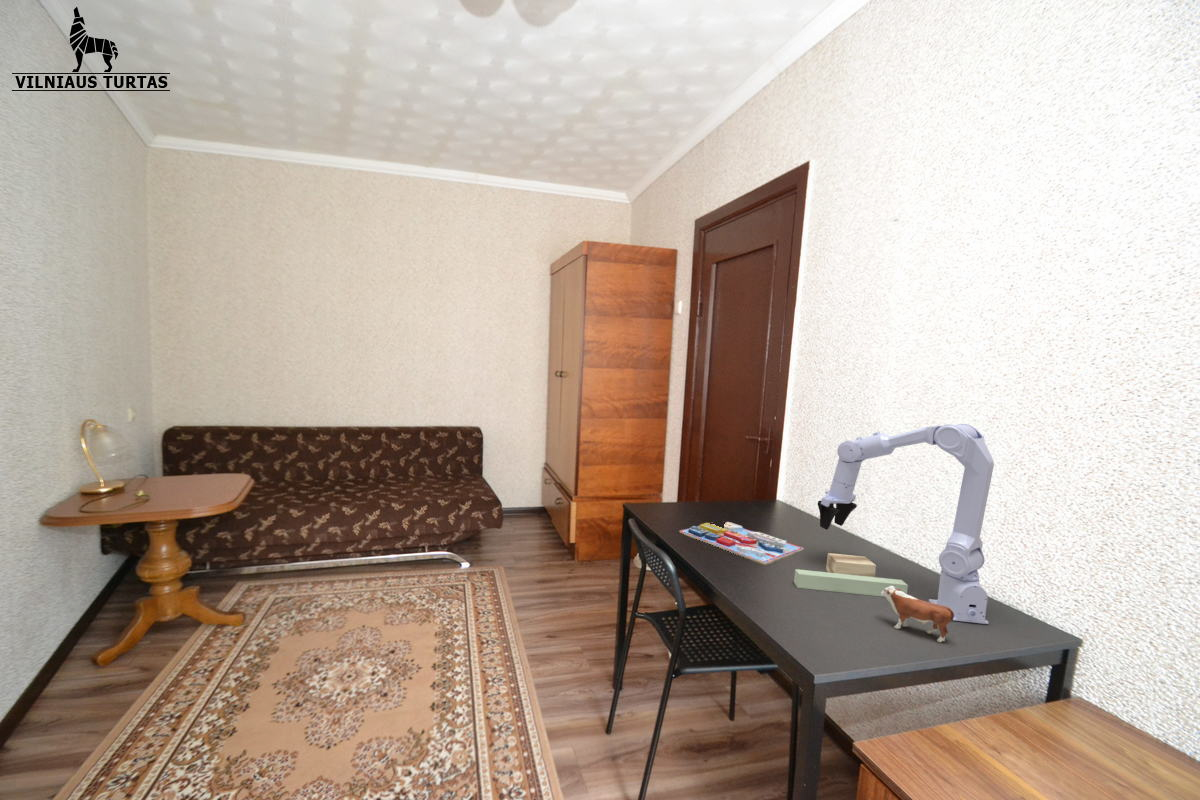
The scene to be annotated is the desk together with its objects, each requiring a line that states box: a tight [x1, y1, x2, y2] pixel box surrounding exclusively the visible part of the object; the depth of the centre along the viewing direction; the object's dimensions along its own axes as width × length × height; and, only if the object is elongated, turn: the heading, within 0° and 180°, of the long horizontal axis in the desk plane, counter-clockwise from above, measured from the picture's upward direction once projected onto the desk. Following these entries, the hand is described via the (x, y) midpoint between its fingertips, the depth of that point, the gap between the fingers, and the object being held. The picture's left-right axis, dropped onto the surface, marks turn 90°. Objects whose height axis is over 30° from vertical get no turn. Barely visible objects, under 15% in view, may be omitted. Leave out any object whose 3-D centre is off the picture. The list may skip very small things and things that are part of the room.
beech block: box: [825, 552, 877, 577], centre depth 133 cm, size 6×10×5 cm, turn 86°
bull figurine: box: [881, 586, 954, 644], centre depth 105 cm, size 4×13×8 cm, turn 51°
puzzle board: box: [678, 521, 805, 567], centre depth 154 cm, size 30×23×3 cm
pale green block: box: [793, 568, 909, 598], centre depth 123 cm, size 3×26×4 cm, turn 85°
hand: (831, 526), depth 141 cm, fingers open, 7 cm apart
